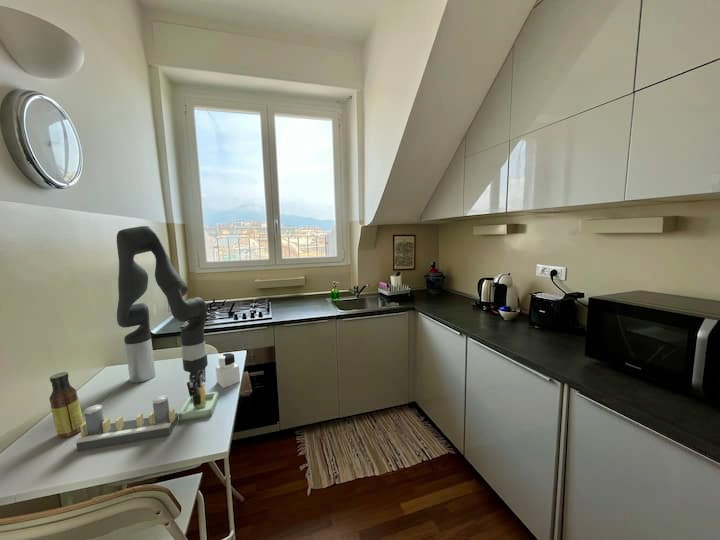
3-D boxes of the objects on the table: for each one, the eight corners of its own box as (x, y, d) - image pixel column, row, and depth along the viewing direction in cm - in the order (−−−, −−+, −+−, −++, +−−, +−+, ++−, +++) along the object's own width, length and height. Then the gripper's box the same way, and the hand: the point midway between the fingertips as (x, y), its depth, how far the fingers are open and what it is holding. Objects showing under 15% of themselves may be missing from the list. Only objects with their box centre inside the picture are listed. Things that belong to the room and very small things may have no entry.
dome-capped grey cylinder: (93, 429, 92) (89, 405, 91) (108, 427, 93) (104, 403, 92) (84, 438, 88) (80, 413, 87) (100, 435, 89) (96, 411, 88)
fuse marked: (195, 402, 108) (193, 381, 107) (207, 400, 108) (205, 380, 108) (192, 408, 104) (189, 387, 103) (204, 406, 105) (202, 385, 104)
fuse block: (93, 433, 94) (90, 416, 93) (179, 419, 100) (177, 403, 99) (76, 451, 86) (73, 432, 86) (170, 435, 92) (168, 417, 92)
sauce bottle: (82, 423, 100) (73, 367, 97) (86, 431, 96) (76, 372, 93) (54, 434, 95) (44, 375, 92) (57, 442, 91) (46, 381, 88)
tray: (189, 402, 111) (189, 395, 110) (218, 397, 113) (218, 391, 113) (179, 421, 99) (178, 414, 99) (211, 416, 102) (210, 409, 101)
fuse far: (158, 419, 97) (155, 396, 96) (172, 417, 98) (169, 394, 97) (153, 426, 93) (150, 403, 92) (167, 424, 94) (164, 400, 93)
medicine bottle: (233, 376, 130) (231, 350, 129) (240, 381, 125) (238, 354, 124) (216, 382, 125) (214, 355, 124) (223, 388, 120) (220, 360, 119)
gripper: (189, 348, 110) (193, 392, 112) (175, 364, 96) (181, 414, 98) (211, 346, 111) (215, 388, 114) (201, 361, 98) (205, 410, 100)
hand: (199, 400), depth 106 cm, fingers open, 4 cm apart
